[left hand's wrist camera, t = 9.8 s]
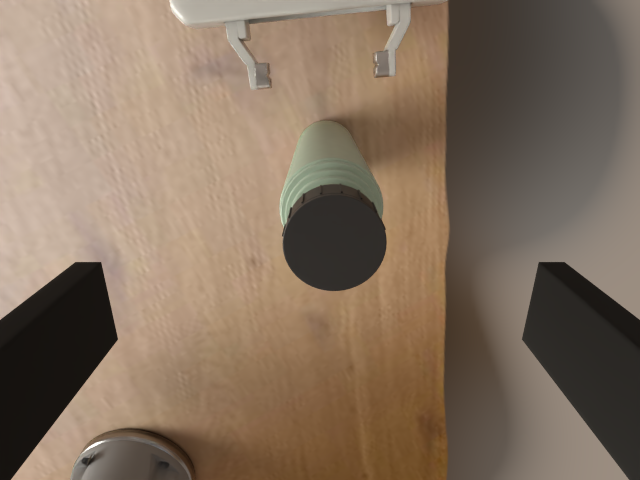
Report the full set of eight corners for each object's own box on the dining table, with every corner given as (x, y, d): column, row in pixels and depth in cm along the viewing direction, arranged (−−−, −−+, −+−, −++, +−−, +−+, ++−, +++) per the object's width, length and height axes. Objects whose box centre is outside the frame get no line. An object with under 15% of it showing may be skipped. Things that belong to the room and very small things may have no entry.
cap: (268, 209, 19) (262, 223, 17) (356, 166, 18) (360, 176, 16) (312, 286, 20) (311, 306, 18) (395, 249, 19) (403, 266, 18)
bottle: (286, 136, 39) (246, 214, 17) (339, 109, 38) (366, 155, 16) (313, 187, 41) (306, 316, 19) (364, 163, 40) (417, 268, 18)
